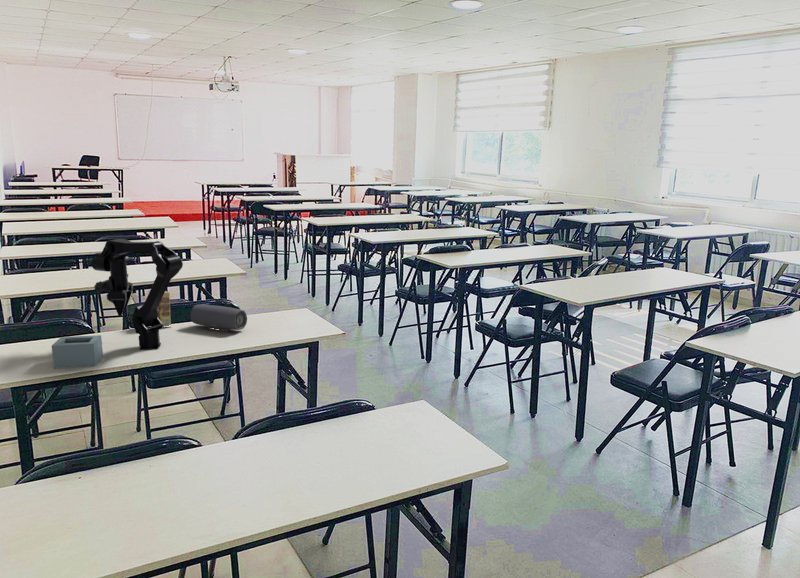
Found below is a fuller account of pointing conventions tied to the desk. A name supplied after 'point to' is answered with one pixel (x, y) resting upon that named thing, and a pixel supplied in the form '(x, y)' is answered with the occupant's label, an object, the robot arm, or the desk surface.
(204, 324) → the bluetooth speaker
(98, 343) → the blue-grey open box
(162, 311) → the candy box
